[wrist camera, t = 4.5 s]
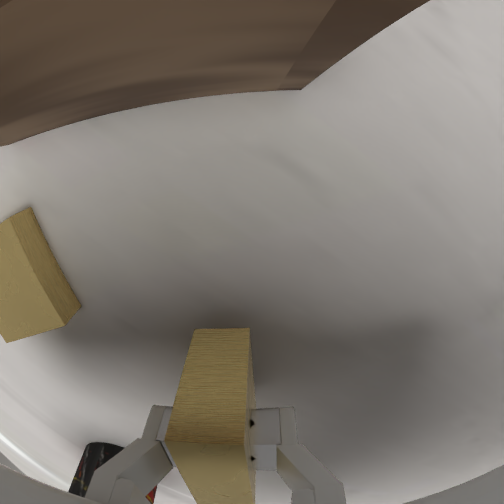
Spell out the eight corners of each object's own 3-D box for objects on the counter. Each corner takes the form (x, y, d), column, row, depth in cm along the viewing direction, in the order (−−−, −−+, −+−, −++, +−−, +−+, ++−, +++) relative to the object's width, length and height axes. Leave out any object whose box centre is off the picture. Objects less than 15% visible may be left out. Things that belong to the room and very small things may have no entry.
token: (35, 204, 11) (8, 217, 10) (84, 302, 13) (65, 325, 11) (-18, 242, 12) (-41, 256, 10) (25, 322, 14) (6, 342, 12)
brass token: (249, 327, 11) (243, 444, 7) (256, 413, 13) (254, 510, 8) (194, 328, 11) (163, 440, 7) (212, 413, 13) (199, 508, 9)
